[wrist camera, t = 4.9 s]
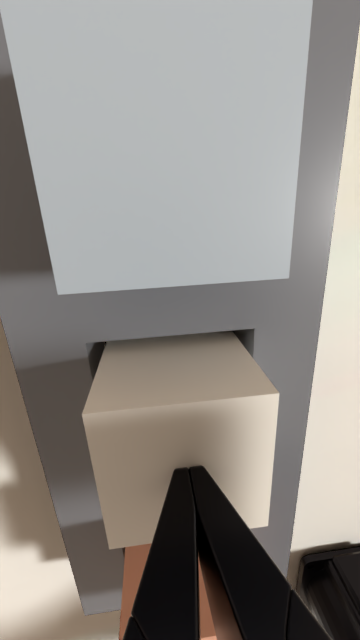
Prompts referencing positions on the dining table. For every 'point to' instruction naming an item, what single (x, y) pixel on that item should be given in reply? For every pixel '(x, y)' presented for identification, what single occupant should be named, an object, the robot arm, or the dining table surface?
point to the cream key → (178, 427)
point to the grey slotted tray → (170, 314)
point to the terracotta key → (131, 581)
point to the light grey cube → (162, 136)
